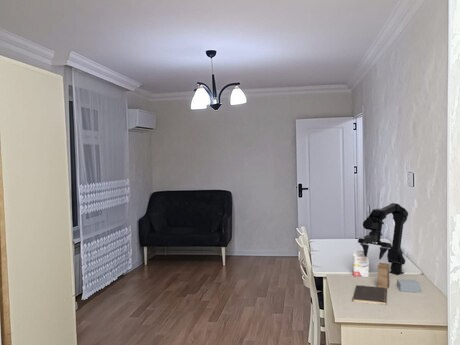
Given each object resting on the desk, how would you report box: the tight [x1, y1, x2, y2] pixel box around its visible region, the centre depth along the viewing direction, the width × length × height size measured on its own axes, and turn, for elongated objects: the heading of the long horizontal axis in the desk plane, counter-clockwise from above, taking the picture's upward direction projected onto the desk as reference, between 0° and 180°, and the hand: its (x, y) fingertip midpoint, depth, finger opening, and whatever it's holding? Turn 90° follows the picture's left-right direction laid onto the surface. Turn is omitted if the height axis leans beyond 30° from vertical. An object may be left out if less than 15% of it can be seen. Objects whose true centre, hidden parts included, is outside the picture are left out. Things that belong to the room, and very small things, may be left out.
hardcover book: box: [352, 285, 388, 306], centre depth 239 cm, size 16×23×2 cm
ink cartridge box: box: [352, 250, 370, 278], centre depth 278 cm, size 9×5×15 cm, turn 84°
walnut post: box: [377, 262, 390, 290], centre depth 254 cm, size 5×5×13 cm
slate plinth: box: [396, 278, 421, 293], centre depth 250 cm, size 10×10×4 cm
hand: (372, 258), depth 264 cm, fingers open, 9 cm apart
